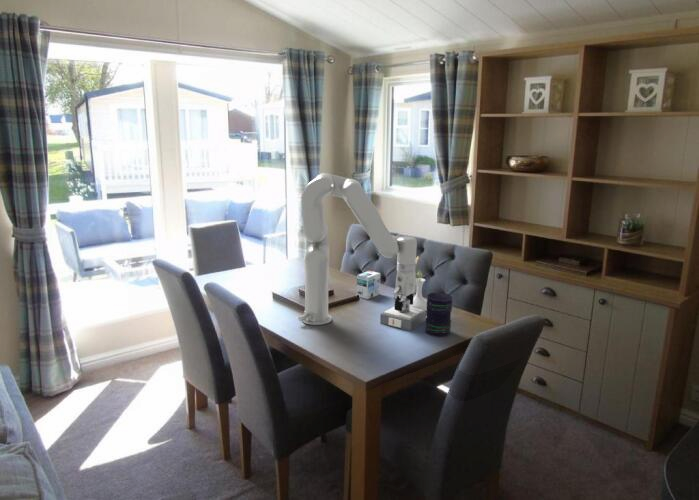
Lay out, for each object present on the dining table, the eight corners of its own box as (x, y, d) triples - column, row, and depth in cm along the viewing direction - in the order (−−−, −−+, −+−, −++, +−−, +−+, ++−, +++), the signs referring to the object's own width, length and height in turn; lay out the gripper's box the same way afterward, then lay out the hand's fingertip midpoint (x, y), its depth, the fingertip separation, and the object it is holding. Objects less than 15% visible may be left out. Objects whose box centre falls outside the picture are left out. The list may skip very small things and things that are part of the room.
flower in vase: (411, 303, 242) (414, 250, 237) (434, 308, 237) (438, 254, 231) (399, 311, 231) (401, 256, 226) (423, 316, 226) (426, 260, 220)
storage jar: (455, 332, 209) (457, 296, 206) (440, 339, 202) (442, 302, 199) (434, 325, 216) (437, 290, 213) (419, 331, 209) (421, 295, 206)
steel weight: (406, 313, 215) (406, 302, 214) (395, 311, 217) (395, 299, 216) (411, 310, 219) (412, 299, 218) (400, 308, 221) (401, 296, 220)
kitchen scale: (409, 331, 209) (410, 320, 208) (379, 323, 217) (379, 312, 215) (425, 320, 221) (426, 309, 220) (396, 313, 229) (397, 303, 227)
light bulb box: (367, 299, 246) (368, 277, 244) (355, 296, 250) (356, 274, 248) (380, 294, 254) (381, 272, 252) (368, 291, 258) (369, 270, 256)
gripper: (404, 273, 205) (402, 314, 209) (423, 264, 219) (421, 303, 223) (387, 270, 209) (385, 310, 213) (407, 261, 223) (405, 299, 227)
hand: (403, 307), depth 218 cm, fingers open, 9 cm apart
